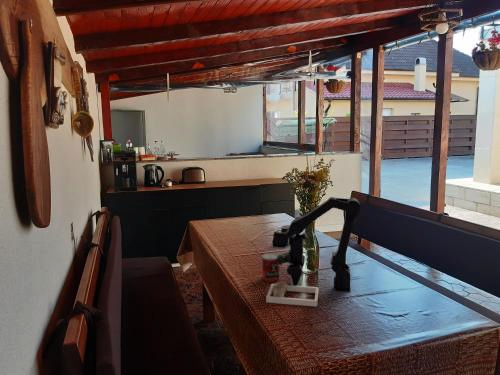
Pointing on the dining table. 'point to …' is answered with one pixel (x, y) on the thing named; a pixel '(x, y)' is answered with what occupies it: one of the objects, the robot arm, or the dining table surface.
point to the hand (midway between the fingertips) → (296, 282)
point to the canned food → (270, 268)
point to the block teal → (298, 282)
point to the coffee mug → (285, 230)
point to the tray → (294, 300)
